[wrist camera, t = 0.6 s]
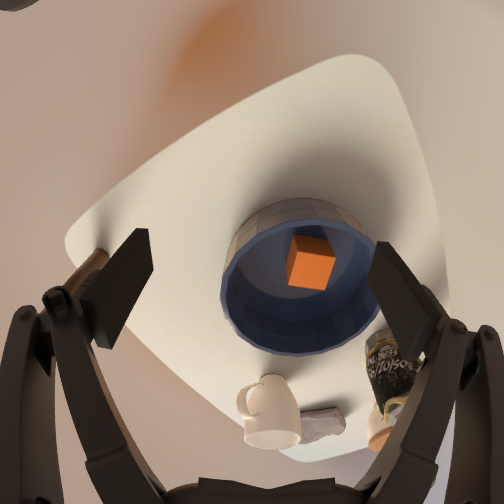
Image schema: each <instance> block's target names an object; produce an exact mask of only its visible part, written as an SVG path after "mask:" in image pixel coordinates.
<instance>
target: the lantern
mask: <svg viewBox="0 0 504 504" xmlns="http://www.w3.org/2000/svg"><path fill="white" fill-rule="evenodd" d="M365 354H366V369H367V374H368V376H369V379H370V382H371V385H372V388H373V391H374V394H375V397H376V400H377V403H378V406H379V410H380V412H381V414H382V415H383V416H384V417H383V418H382V423H383V424H386V425H390V426H393V427H394V425H395V423H396V421H397V419H398V417H399V415H400V413H401V411H402V409H403V407H404V405H405V403H406V400H407V398H408V396H409V394H410V391H411V389H412V387H413V384H414V382H415V380H416V377H417V375H418V373H417V372H416V371H417V369H418V368H419V366H420V365H421V363H422V361H421V360H420V358H418V359H417V360H411V361H404V359H403V357H402V354H401V352H400V350H399V348H398V345H397V343H396V341H395V339H394V336H393V334H392V332H391V330H390V329H387V330H383V331H380V332H376V333H375V334H374V335H373V336H372V337H371V338H369V339H368V340H367V341H366V351H365ZM435 480H436V477H435V479H434V481H433V484H432V486H431V487H433V485H434V483H435Z"/></svg>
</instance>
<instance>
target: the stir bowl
mask: <svg viewBox="0 0 504 504" xmlns="http://www.w3.org/2000/svg"><path fill="white" fill-rule="evenodd" d="M293 234H298V235H303V236H309V237H315V238H320V239H326V240H328V241H329V243H330V245H331V247H332V250H333V252H334V254H335V256H336V260H335V263H334V265H333V268H332V271H331V274H330V277H329V280H328V282H327V285H326V288H325V290H320V289H312V288H305V287H298V286H291V285H288V280H287V273H286V266H285V264H286V261H287V257H288V253H289V249H290V245H291V241H292V237H293ZM375 248H376V246H375V244H374V243H373V242H372V240H371V239H370V238H369V236H368V235H367V234H366V232H365V231H364V230H363V228H362V227H361V226H360V224H359V223H358V222H357V221H356V219H355V218H354V217H353V216H352V215H350V214H349V213H348V212H347V211H345V210H343V209H342V208H340V207H339V206H336V205H334V204H332V203H329V202H326V201H322V200H318V199H311V198H297V199H289V200H284V201H281V202H277V203H275V204H272V205H270V206H267V207H265V208H264V209H262V210H260V211H258V212H257V213H256V214H254V215H253V216H252V217H250V218H249V219H248V220H247V221H246V222H245V223H244V224H243V225H242V227H241V228H240V229H239V230H238V232H237V233H236V235H235V237H234V239H233V240H232V243H231V245H230V247H229V249H228V253H227V257H226V262H225V267H224V272H223V276H222V284H221V292H220V301H221V305H222V309H223V312H224V316H225V319H226V320H227V322H228V323H229V324H230V326H231V327H232V328H233V330H234V331H235V332H236V334H237V335H238V336H239V337H241V338H242V339H244V340H245V341H246V342H248V343H249V344H251V345H252V346H254V347H255V348H258V349H261V350H264V351H267V352H270V353H272V354H276V355H285V356H296V357H297V356H298V357H299V356H307V355H315V354H321V353H324V352H327V351H329V350H332V349H335V348H338V347H340V346H342V345H344V344H346V343H347V342H349V341H350V340H352V339H353V338H355V337H356V336H358V335H360V334H361V333H362V332H363V331H364V330H365V329H366V328H367V326H368V325H369V324H370V323H371V322H372V321H373V320H374V319H375V318H376V316H377V314H378V312H379V310H380V307H379V305H378V303H377V301H376V299H375V297H374V295H373V293H372V291H371V289H370V287H369V285H368V283H367V281H366V280H367V277H368V273H369V270H370V266H371V263H372V259H373V255H374V252H375Z"/></svg>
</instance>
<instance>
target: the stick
mask: <svg viewBox="0 0 504 504" xmlns="http://www.w3.org/2000/svg"><path fill="white" fill-rule="evenodd" d="M108 261H109V255H108V254H107V252H106V251H105V250H103V249H96V250H95V251H94V252H93V253H92V254H91V255H90V256H89V257H88V258H87V260H86V261H85V262H84V263H83V264H82V265H81V266H80V267H79V268H78V269H77V270H76V272H75V273H74V274H73V275H72V276H71V277H70V278H69V279H68V280H67V282H66V283H65V284H64V285H63V286H65V287H67V288H68V290H69V292H70V295H71V296H72V295H73V294H74V293H75V291H76V290H77V289H78V288H79V287H80V285H81V284H82V282H84V280H85V279H86V278H87V276H88V275H89V274H90V273H92V272H93V271H95V270H96V269H102V268H103V267H104V266H105V264H106V263H107V262H108ZM41 313H47V310H46V308H44V309H43V310H42V311H41ZM41 313H40V314H41Z"/></svg>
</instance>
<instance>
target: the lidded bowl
mask: <svg viewBox="0 0 504 504" xmlns="http://www.w3.org/2000/svg"><path fill="white" fill-rule="evenodd" d="M383 417H384V416H383V415H382V414H381V412H380V410H379V406H378V403H377V404H376V405H375V407H374V410H373V411H372V413H371V414H370V416H369V419H368V423H367V435H368V441H369V448H370V449H371V450H373V451H381V449H382V447H383V445H384V444H385V442H386V440H387V438H388V436H389V435H390V433H391V431H392V429H393V426H390V425H386V424H383V423H382V418H383Z"/></svg>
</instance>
